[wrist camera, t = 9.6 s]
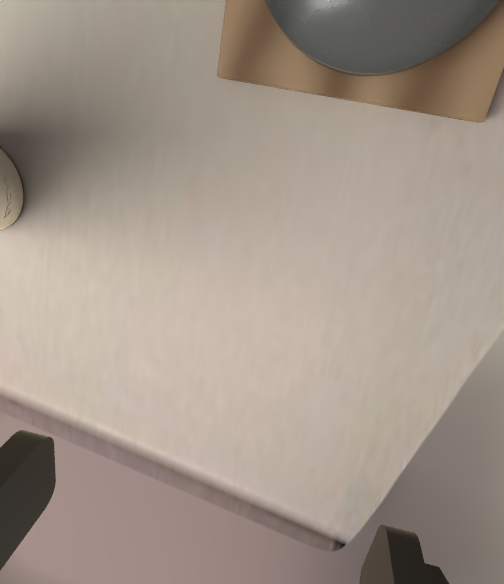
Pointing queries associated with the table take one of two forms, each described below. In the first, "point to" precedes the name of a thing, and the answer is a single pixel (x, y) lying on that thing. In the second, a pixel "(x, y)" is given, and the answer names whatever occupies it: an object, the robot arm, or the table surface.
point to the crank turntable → (376, 31)
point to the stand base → (372, 89)
